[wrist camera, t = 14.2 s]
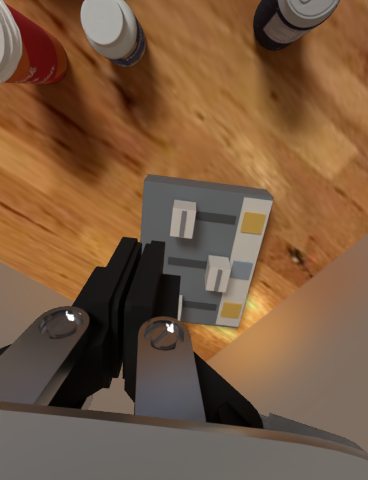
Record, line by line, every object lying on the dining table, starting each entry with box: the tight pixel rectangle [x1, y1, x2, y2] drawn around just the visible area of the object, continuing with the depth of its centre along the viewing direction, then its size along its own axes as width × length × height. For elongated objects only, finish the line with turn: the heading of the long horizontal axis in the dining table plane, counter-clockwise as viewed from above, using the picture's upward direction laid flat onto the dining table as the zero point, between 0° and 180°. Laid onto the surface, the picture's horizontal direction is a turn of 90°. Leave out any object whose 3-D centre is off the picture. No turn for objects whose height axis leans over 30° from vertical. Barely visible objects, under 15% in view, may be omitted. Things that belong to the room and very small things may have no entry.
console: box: [140, 174, 273, 328], centre depth 45 cm, size 18×24×4 cm
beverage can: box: [253, 0, 340, 50], centre depth 28 cm, size 6×6×12 cm
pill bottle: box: [81, 0, 146, 67], centre depth 30 cm, size 5×5×10 cm
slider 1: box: [178, 295, 182, 321], centre depth 44 cm, size 3×4×4 cm
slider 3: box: [205, 255, 231, 293], centre depth 41 cm, size 3×4×4 cm
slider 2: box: [170, 200, 196, 239], centre depth 37 cm, size 3×4×4 cm
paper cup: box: [0, 0, 67, 84], centre depth 29 cm, size 8×8×14 cm
